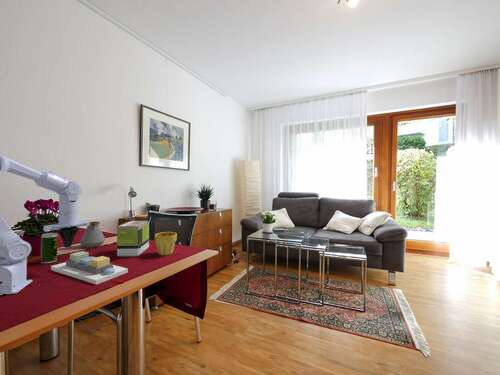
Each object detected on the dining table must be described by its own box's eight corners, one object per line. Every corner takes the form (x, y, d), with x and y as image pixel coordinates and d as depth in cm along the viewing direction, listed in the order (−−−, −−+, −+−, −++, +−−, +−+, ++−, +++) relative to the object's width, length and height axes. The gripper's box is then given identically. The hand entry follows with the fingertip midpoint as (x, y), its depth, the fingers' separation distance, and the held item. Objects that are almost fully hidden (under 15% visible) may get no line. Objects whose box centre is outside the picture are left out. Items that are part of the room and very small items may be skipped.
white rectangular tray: (127, 272, 87) (127, 263, 87) (95, 284, 76) (96, 274, 76) (83, 260, 99) (84, 253, 99) (50, 269, 88) (50, 261, 88)
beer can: (39, 264, 93) (39, 235, 93) (42, 260, 97) (42, 233, 97) (56, 262, 96) (56, 234, 96) (58, 258, 100) (58, 232, 100)
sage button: (88, 260, 91) (88, 252, 91) (76, 263, 87) (76, 255, 87) (82, 258, 93) (82, 251, 93) (69, 261, 89) (70, 254, 89)
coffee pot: (80, 244, 124) (80, 217, 124) (104, 242, 130) (105, 216, 130) (77, 255, 106) (78, 223, 106) (106, 251, 113) (106, 221, 113)
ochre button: (109, 265, 86) (109, 257, 86) (97, 269, 82) (97, 261, 82) (102, 263, 88) (102, 256, 88) (90, 267, 84) (90, 259, 84)
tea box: (130, 247, 121) (130, 220, 121) (149, 247, 122) (150, 220, 122) (116, 256, 106) (116, 225, 106) (138, 256, 107) (138, 225, 107)
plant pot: (158, 258, 105) (159, 237, 105) (151, 252, 113) (151, 233, 113) (179, 254, 112) (180, 234, 112) (171, 249, 120) (171, 231, 120)
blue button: (98, 265, 89) (98, 258, 89) (86, 269, 85) (86, 261, 85) (91, 263, 90) (91, 256, 90) (79, 267, 86) (79, 259, 86)
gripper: (51, 214, 79) (50, 253, 79) (94, 210, 92) (93, 243, 92) (40, 213, 82) (40, 250, 82) (83, 209, 95) (83, 241, 95)
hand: (67, 246), depth 87 cm, fingers closed
